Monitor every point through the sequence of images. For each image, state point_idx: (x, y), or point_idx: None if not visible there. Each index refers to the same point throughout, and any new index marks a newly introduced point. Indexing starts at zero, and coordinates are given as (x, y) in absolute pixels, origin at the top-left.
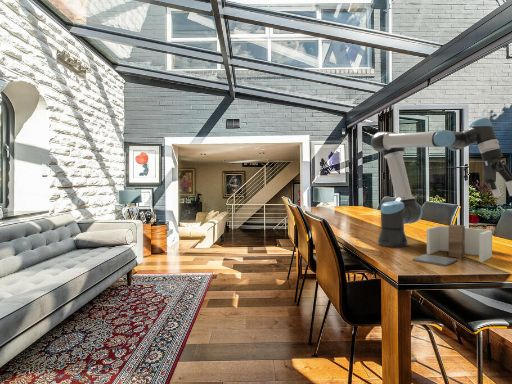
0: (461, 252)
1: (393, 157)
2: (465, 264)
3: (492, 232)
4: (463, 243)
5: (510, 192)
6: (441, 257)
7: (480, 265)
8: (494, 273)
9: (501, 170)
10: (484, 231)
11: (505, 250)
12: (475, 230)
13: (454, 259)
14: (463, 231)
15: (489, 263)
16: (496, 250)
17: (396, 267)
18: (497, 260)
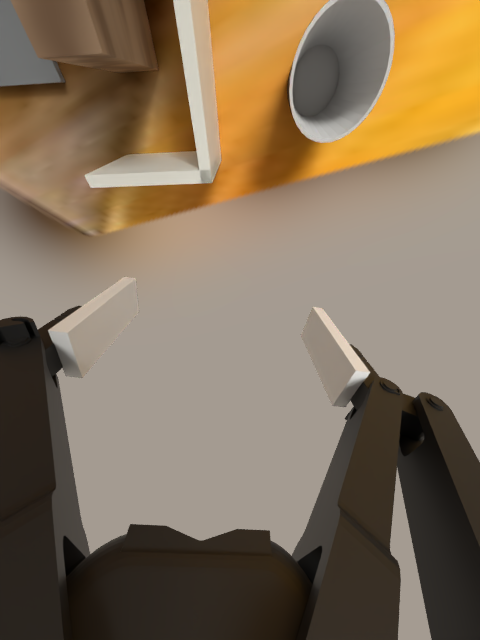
0: (116, 70)
1: None
2: (60, 135)
3: (324, 140)
4: (125, 66)
5: (316, 325)
6: (8, 3)
7: None
8: (68, 220)
9: (312, 536)
10: (197, 152)
11: (354, 159)
12: (190, 102)
13: (46, 81)
14: (97, 59)
15: None
16: None
17: None
18: (188, 187)
